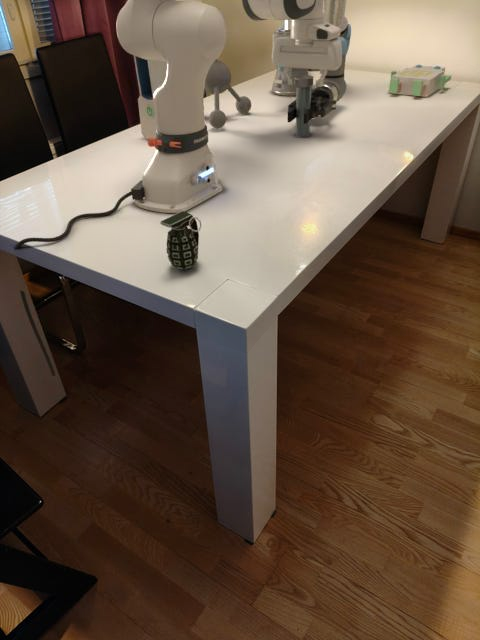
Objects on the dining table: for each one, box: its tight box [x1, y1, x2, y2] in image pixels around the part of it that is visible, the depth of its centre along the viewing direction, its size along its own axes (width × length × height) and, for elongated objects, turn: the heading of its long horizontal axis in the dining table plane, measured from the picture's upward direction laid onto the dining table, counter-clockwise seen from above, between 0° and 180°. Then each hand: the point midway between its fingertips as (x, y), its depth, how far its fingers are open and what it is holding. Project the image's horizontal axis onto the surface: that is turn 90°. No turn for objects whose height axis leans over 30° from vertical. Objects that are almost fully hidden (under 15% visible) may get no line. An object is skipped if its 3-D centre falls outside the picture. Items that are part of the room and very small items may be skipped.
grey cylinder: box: [295, 86, 312, 138], centre depth 144 cm, size 4×4×15 cm
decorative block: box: [388, 64, 452, 98], centre depth 182 cm, size 26×6×20 cm
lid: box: [295, 74, 314, 87], centre depth 140 cm, size 5×5×2 cm
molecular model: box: [203, 58, 252, 129], centre depth 157 cm, size 24×22×30 cm
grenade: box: [159, 211, 202, 271], centre depth 88 cm, size 7×6×10 cm
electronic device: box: [133, 55, 167, 140], centre depth 143 cm, size 12×8×30 cm, turn 47°
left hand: (305, 85), depth 140 cm, fingers open, 7 cm apart
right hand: (296, 118), depth 141 cm, fingers closed on grey cylinder, 4 cm apart
